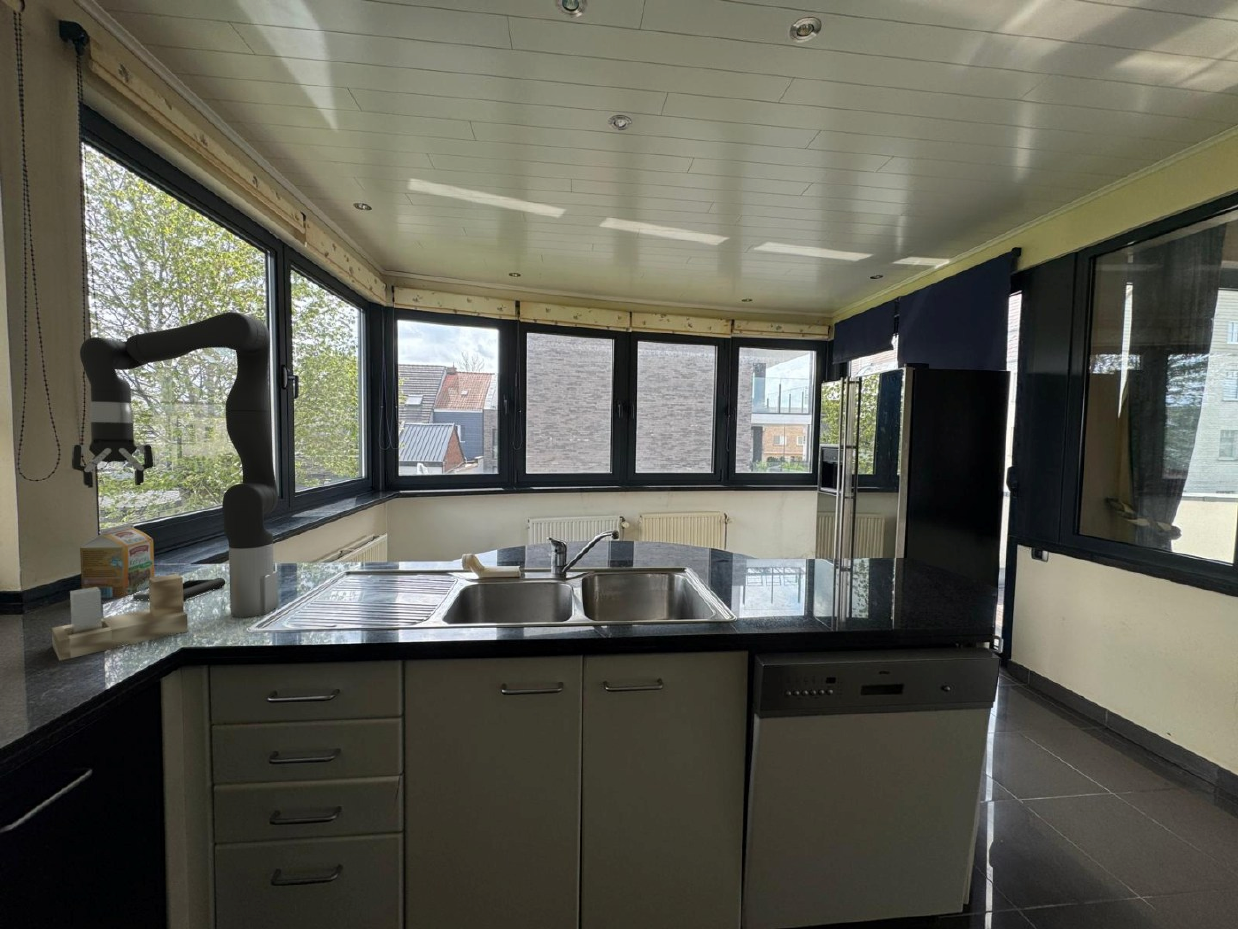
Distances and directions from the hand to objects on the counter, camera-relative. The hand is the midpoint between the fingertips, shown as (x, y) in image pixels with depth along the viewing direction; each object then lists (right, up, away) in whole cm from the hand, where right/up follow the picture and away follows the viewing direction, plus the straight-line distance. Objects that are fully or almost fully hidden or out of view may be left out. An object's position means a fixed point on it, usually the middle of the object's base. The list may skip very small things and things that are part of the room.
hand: (114, 486), depth 127 cm
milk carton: (-17, -31, +19) cm, 40 cm away
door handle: (+1, -32, +16) cm, 36 cm away
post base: (+16, -33, -14) cm, 39 cm away
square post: (+13, -33, -19) cm, 40 cm away
